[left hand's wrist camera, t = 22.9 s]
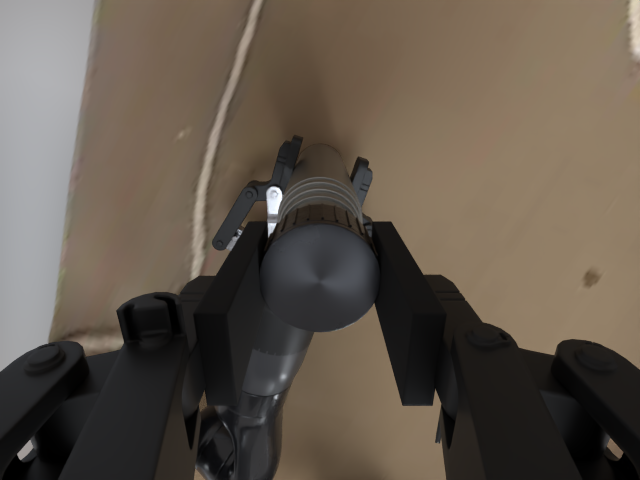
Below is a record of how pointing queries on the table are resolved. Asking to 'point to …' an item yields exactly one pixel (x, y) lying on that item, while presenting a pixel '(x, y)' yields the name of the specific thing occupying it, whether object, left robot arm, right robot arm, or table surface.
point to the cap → (319, 269)
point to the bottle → (319, 183)
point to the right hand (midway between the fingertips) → (330, 149)
